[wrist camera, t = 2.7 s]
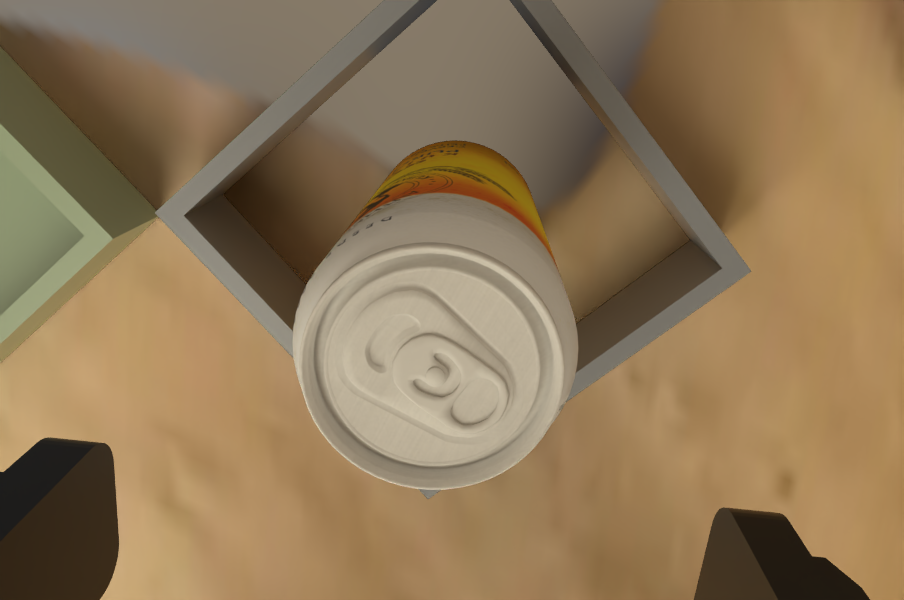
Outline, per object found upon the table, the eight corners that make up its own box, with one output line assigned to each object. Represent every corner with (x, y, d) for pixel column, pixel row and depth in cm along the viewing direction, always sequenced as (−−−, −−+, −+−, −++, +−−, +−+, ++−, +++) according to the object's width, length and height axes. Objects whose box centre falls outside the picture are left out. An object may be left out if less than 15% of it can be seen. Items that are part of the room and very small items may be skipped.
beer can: (440, 105, 27) (395, 157, 13) (565, 202, 28) (649, 350, 14) (348, 231, 29) (221, 399, 15) (470, 319, 30) (460, 556, 16)
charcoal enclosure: (716, 242, 29) (751, 271, 25) (434, 446, 32) (428, 499, 28) (483, -70, 26) (483, -92, 22) (197, 192, 29) (154, 212, 25)
